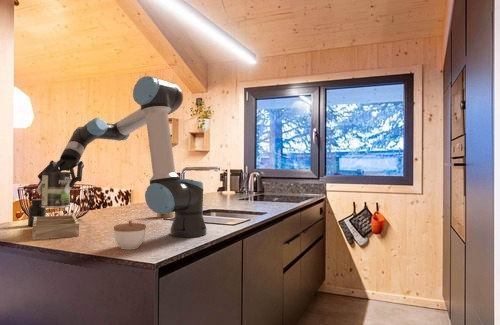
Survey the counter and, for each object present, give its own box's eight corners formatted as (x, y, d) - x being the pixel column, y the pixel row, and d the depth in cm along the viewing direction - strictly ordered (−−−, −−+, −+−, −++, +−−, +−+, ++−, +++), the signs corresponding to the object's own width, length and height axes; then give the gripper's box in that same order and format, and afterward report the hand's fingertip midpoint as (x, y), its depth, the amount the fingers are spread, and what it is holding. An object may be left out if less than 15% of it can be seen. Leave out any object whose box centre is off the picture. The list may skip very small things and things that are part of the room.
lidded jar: (132, 252, 120) (132, 224, 120) (106, 249, 123) (107, 222, 123) (151, 245, 130) (152, 219, 130) (127, 243, 133) (127, 217, 133)
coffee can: (75, 205, 150) (76, 172, 150) (57, 208, 140) (58, 172, 140) (54, 204, 152) (54, 171, 152) (35, 207, 142) (35, 172, 142)
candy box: (173, 216, 201) (173, 188, 201) (173, 217, 197) (174, 189, 197) (157, 216, 199) (157, 188, 199) (156, 217, 195) (157, 189, 195)
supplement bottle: (32, 227, 161) (33, 200, 161) (25, 225, 164) (25, 199, 165) (48, 225, 167) (48, 199, 167) (40, 223, 170) (40, 198, 170)
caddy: (78, 236, 144) (79, 223, 144) (32, 239, 136) (32, 226, 136) (74, 225, 166) (74, 215, 166) (33, 228, 158) (34, 217, 158)
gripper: (100, 160, 162) (83, 199, 146) (50, 159, 162) (27, 197, 146) (95, 148, 156) (77, 186, 141) (43, 147, 156) (19, 185, 141)
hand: (52, 192), depth 143 cm, fingers closed on coffee can, 10 cm apart
